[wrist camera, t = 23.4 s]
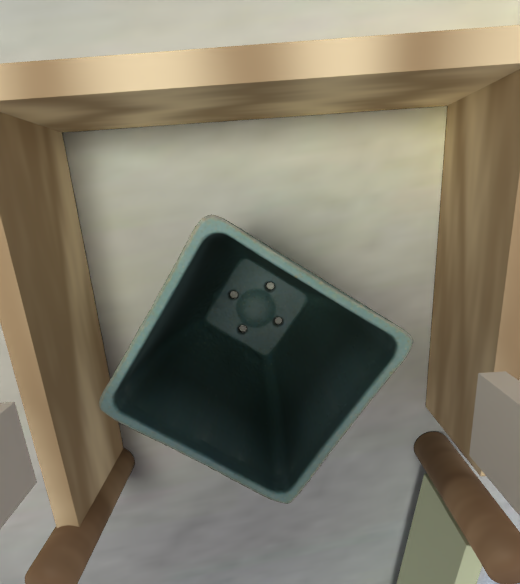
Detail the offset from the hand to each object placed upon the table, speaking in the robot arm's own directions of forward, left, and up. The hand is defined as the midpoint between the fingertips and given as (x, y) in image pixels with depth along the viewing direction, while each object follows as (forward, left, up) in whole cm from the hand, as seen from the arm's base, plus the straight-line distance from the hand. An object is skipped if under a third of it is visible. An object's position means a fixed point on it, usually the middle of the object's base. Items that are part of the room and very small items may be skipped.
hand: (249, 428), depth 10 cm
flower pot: (0, 0, -12) cm, 12 cm away
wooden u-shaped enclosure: (0, 0, -12) cm, 12 cm away
